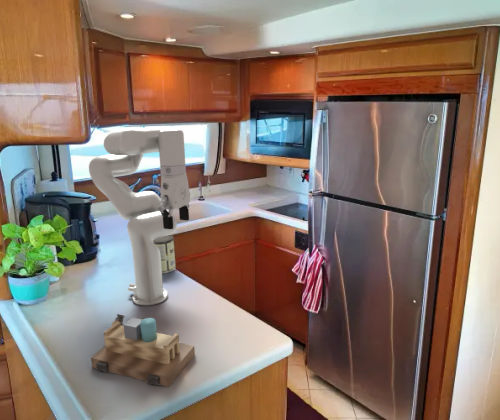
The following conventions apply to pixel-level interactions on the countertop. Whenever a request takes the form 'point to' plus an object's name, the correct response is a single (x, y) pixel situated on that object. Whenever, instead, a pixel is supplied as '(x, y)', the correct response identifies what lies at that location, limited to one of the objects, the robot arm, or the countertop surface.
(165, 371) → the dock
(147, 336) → the teal cylinder
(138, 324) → the grey cube
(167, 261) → the coffee can
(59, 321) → the countertop surface
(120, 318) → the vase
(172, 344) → the light wood long block
